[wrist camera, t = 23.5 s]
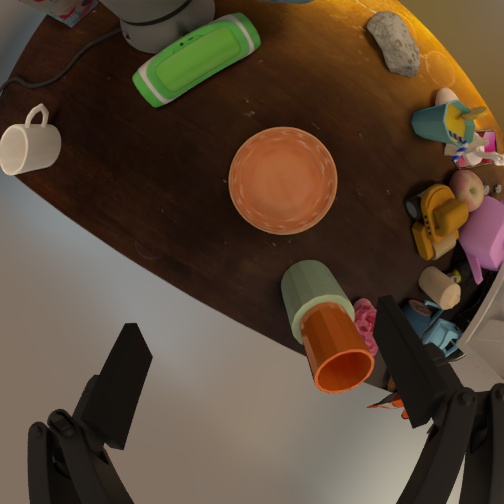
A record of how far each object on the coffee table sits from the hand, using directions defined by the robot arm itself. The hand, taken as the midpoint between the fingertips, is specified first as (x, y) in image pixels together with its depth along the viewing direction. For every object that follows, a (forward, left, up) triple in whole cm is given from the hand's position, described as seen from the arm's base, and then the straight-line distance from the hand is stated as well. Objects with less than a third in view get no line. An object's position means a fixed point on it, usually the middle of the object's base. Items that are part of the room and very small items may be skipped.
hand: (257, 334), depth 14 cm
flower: (+25, -18, -31) cm, 44 cm away
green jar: (+13, -12, -31) cm, 36 cm away
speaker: (-13, +24, -25) cm, 37 cm away
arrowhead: (+37, +24, -23) cm, 50 cm away
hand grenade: (+52, -1, -29) cm, 60 cm away
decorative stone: (+19, +34, -31) cm, 50 cm away
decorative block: (+55, -9, -20) cm, 60 cm away
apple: (+40, +11, -31) cm, 52 cm away
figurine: (+41, +22, -30) cm, 55 cm away
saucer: (+5, +5, -31) cm, 32 cm away
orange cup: (+13, -12, -19) cm, 26 cm away
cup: (+27, +21, -31) cm, 47 cm away
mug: (-37, +9, -31) cm, 49 cm away
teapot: (+49, +6, -31) cm, 58 cm away
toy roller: (+34, +5, -31) cm, 46 cm away
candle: (+40, -7, -31) cm, 51 cm away
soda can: (+37, -24, -28) cm, 52 cm away
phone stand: (+44, -17, -31) cm, 57 cm away
